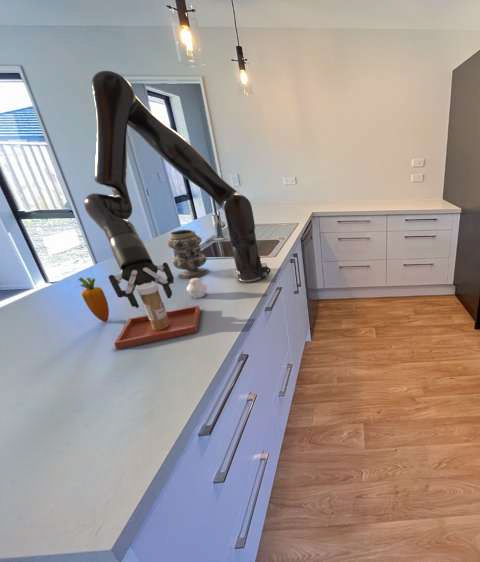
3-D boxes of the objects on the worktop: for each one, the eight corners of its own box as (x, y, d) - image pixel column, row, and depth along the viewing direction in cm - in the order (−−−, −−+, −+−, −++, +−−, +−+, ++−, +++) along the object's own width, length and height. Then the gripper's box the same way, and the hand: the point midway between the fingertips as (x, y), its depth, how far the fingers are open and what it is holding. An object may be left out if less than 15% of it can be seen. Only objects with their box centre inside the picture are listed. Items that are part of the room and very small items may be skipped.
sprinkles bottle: (171, 327, 87) (156, 286, 82) (152, 332, 85) (135, 290, 79) (170, 320, 91) (156, 280, 85) (152, 325, 88) (136, 284, 83)
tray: (200, 310, 97) (198, 305, 96) (196, 332, 86) (194, 326, 85) (131, 324, 90) (128, 318, 89) (116, 349, 79) (114, 343, 78)
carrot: (119, 319, 93) (100, 274, 87) (102, 327, 89) (80, 281, 83) (109, 316, 95) (89, 273, 88) (91, 324, 90) (69, 279, 84)
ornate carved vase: (215, 271, 128) (204, 230, 120) (186, 281, 119) (173, 237, 111) (199, 266, 134) (188, 226, 126) (171, 275, 125) (157, 233, 117)
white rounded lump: (211, 295, 107) (206, 277, 104) (193, 301, 103) (187, 283, 100) (205, 290, 111) (200, 273, 108) (186, 296, 107) (181, 278, 104)
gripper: (95, 252, 78) (119, 305, 76) (159, 240, 88) (182, 287, 85) (101, 266, 84) (123, 316, 81) (160, 253, 93) (182, 298, 90)
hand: (153, 301), depth 83 cm, fingers open, 7 cm apart
